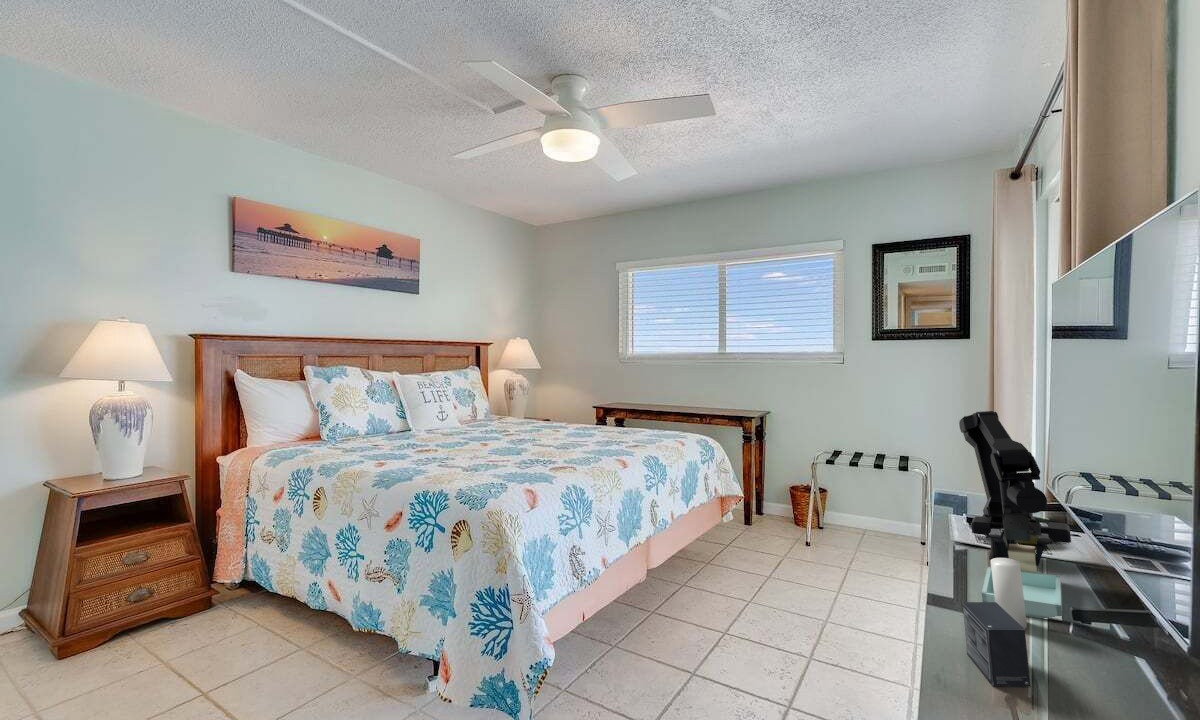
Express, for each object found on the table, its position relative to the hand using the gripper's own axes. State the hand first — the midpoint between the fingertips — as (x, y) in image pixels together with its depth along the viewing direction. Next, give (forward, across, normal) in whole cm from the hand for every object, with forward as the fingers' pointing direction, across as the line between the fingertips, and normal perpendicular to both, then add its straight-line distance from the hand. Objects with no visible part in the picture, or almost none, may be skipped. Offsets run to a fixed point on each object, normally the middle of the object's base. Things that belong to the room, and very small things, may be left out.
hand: (1023, 564), depth 132 cm
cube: (+1, 0, 0) cm, 1 cm away
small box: (+4, -3, -42) cm, 42 cm away
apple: (+4, 0, +26) cm, 26 cm away
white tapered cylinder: (+4, -2, -23) cm, 23 cm away
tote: (+4, 0, -11) cm, 11 cm away
